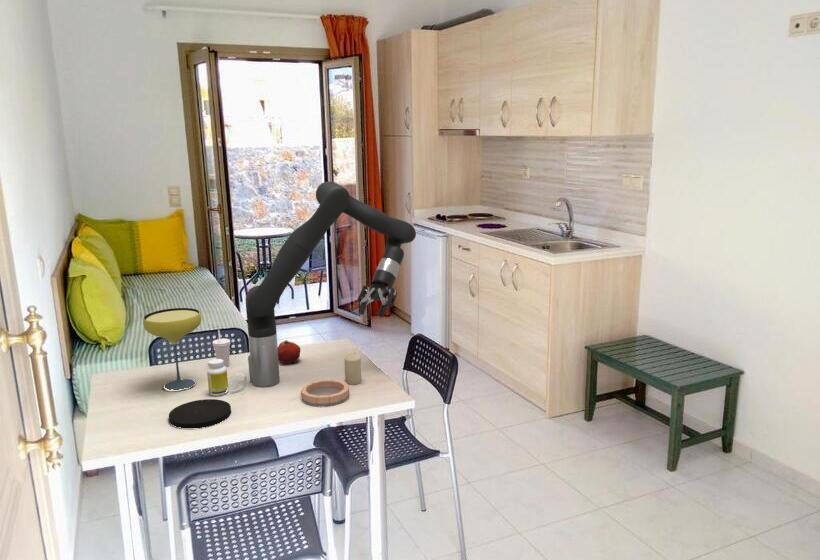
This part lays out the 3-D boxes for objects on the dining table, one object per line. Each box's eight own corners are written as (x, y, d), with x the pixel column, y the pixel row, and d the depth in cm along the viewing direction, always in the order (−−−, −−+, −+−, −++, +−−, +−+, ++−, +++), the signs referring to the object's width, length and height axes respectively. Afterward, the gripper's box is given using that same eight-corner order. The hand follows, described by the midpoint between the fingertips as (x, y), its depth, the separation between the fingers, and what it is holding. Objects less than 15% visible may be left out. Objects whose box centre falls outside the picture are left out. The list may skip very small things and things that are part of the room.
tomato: (293, 356, 245) (292, 336, 243) (306, 362, 238) (304, 341, 237) (271, 361, 239) (270, 341, 238) (283, 367, 232) (282, 346, 231)
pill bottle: (232, 391, 211) (230, 359, 209) (218, 398, 206) (215, 365, 204) (219, 388, 215) (216, 356, 212) (205, 394, 209) (202, 362, 207)
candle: (359, 385, 215) (357, 356, 212) (343, 384, 216) (341, 356, 213) (363, 379, 220) (362, 351, 218) (348, 378, 221) (346, 350, 219)
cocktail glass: (138, 392, 212) (130, 320, 206) (174, 374, 229) (167, 306, 223) (184, 398, 206) (176, 324, 201) (217, 379, 223) (211, 309, 217)
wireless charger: (242, 416, 193) (241, 410, 192) (185, 435, 181) (185, 429, 180) (213, 400, 205) (213, 394, 205) (159, 417, 193) (158, 411, 193)
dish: (292, 401, 202) (291, 392, 202) (320, 385, 215) (319, 376, 214) (331, 409, 195) (331, 400, 195) (357, 392, 208) (357, 383, 208)
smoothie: (214, 364, 238) (211, 328, 234) (232, 362, 239) (229, 326, 236) (214, 370, 232) (211, 333, 229) (233, 368, 233) (229, 331, 230)
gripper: (365, 267, 227) (348, 308, 221) (397, 269, 218) (380, 312, 213) (376, 277, 232) (360, 317, 226) (407, 280, 224) (392, 322, 218)
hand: (370, 315), depth 220 cm, fingers open, 8 cm apart
